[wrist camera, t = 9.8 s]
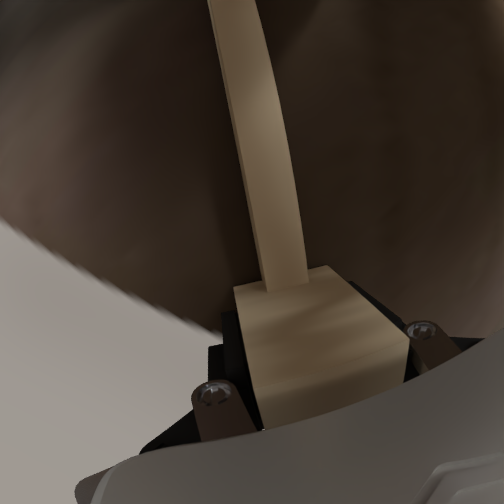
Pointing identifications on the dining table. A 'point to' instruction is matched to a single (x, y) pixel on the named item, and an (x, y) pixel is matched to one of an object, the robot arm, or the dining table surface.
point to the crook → (292, 259)
